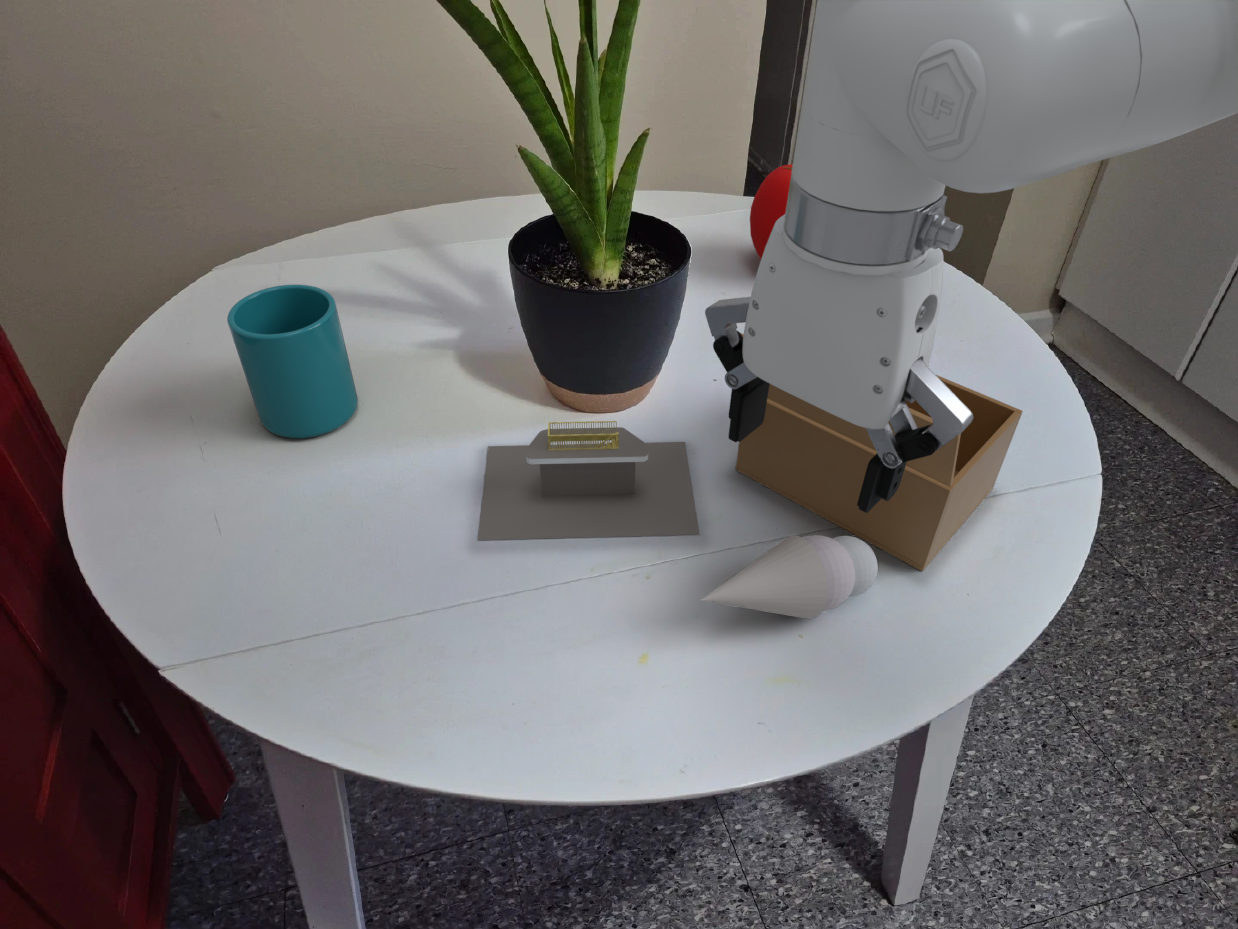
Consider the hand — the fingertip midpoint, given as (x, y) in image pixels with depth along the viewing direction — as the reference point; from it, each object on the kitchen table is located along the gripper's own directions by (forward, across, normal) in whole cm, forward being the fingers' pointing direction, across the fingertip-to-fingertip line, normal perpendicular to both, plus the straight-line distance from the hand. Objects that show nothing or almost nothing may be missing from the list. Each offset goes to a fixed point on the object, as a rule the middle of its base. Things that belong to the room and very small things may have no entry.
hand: (806, 464), depth 56 cm
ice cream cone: (+14, -1, 0) cm, 14 cm away
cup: (+15, +47, +9) cm, 51 cm away
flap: (+2, +3, -9) cm, 10 cm away
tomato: (+15, +28, -45) cm, 55 cm away
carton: (+14, +2, -17) cm, 22 cm away
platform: (+14, +19, 0) cm, 24 cm away
